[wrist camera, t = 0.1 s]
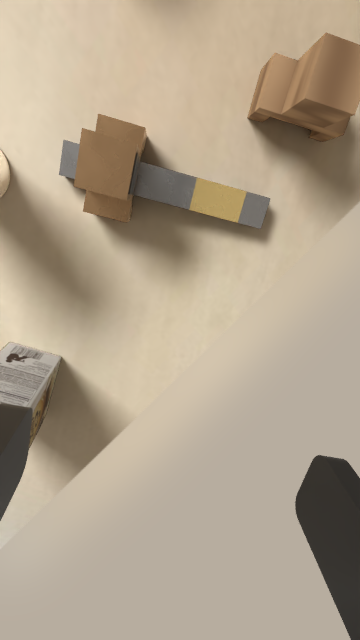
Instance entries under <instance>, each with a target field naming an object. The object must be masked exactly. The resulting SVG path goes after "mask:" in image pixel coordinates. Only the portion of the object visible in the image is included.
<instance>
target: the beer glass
mask: <svg viewBox="0 0 360 640" xmlns="http://www.w3.org/2000/svg"><path fill="white" fill-rule="evenodd" d="M9 182H10V168H9V164H8V162H7V159H6V157H5V155H4V154H3V152H2V151H1V150H0V197H1V196H3V194H4V193H5V192H6V190H7V188H8V186H9Z"/></svg>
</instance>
